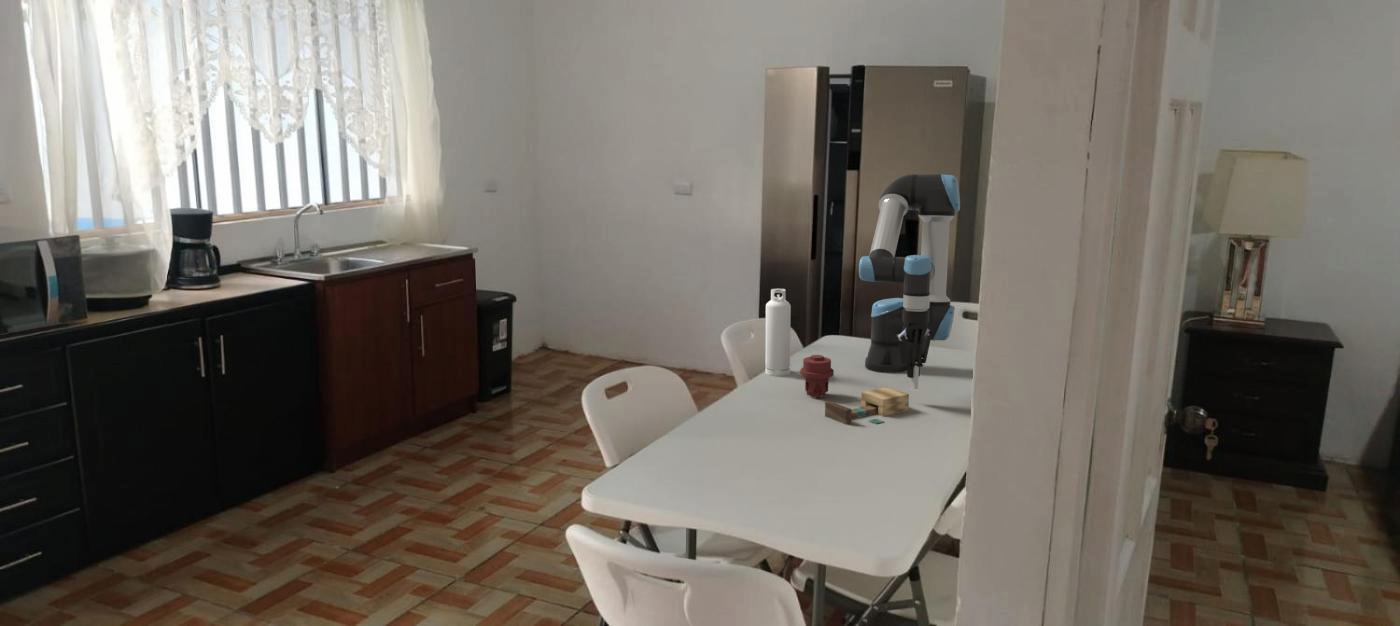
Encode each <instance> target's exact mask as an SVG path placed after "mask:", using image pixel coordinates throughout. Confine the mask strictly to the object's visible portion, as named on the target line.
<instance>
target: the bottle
mask: <svg viewBox="0 0 1400 626" xmlns="http://www.w3.org/2000/svg"><path fill="white" fill-rule="evenodd" d="M777 293H778V294H777ZM775 294H776V295H775ZM780 294H781V296H780ZM786 298H787V297H786V289H785V288H771V289H770V300H769V301H768V302H766V304H765V360H764V361H765V374H766V375H768V376H771V377H773V376H775V377H784V376H788V375H790V373H791V368H790V367H791V308H792V307H791V304H790V302H789V301H787V300H786Z"/></svg>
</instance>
